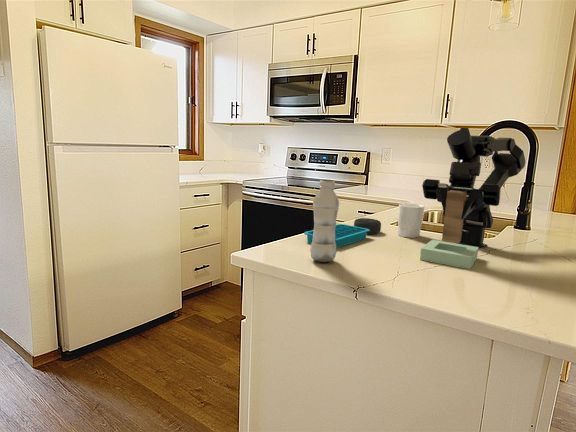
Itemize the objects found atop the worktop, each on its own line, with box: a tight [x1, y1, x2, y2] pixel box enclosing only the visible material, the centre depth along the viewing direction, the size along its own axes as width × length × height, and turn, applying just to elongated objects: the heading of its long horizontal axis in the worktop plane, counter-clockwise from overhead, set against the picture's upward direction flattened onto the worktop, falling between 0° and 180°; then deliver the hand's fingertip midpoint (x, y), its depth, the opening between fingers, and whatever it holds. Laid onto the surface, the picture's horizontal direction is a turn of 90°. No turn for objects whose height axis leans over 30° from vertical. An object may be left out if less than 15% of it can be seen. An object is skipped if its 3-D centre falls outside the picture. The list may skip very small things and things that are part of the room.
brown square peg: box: [441, 190, 467, 244], centre depth 101 cm, size 4×4×13 cm
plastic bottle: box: [309, 179, 340, 263], centre depth 95 cm, size 6×7×20 cm
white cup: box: [397, 203, 425, 239], centre depth 128 cm, size 8×8×10 cm
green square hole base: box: [419, 239, 480, 270], centre depth 103 cm, size 12×12×3 cm
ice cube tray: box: [303, 223, 370, 249], centre depth 119 cm, size 12×20×3 cm, turn 139°
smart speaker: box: [353, 217, 382, 235], centre depth 131 cm, size 9×9×4 cm
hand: (453, 217), depth 100 cm, fingers closed on brown square peg, 4 cm apart
